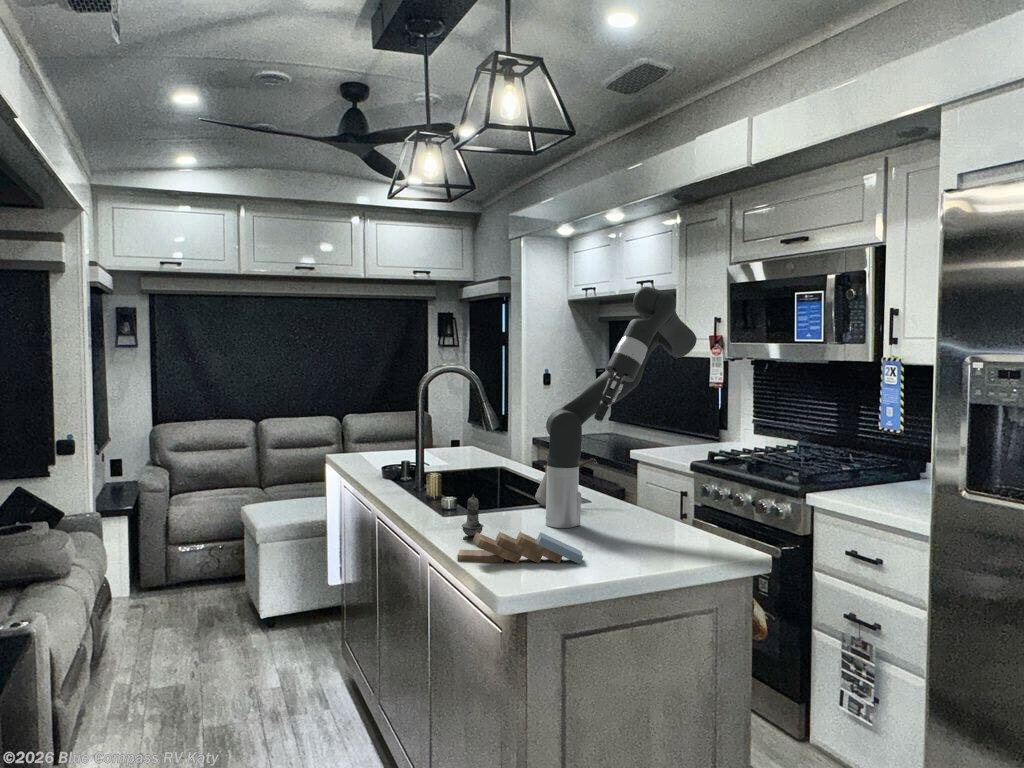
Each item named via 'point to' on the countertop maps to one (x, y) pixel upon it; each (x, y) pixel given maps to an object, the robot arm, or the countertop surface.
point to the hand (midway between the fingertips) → (597, 419)
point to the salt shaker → (472, 520)
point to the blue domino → (559, 548)
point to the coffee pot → (543, 486)
